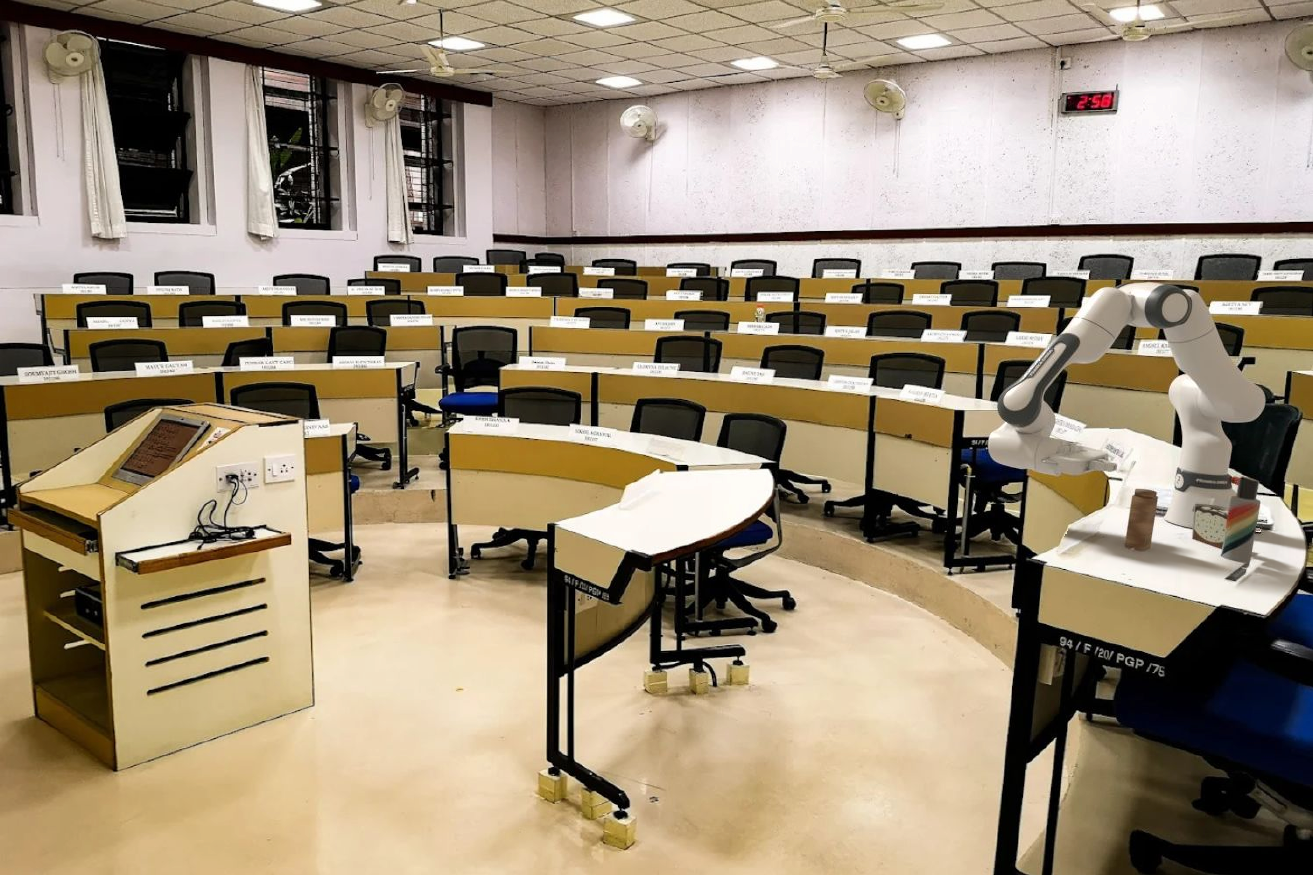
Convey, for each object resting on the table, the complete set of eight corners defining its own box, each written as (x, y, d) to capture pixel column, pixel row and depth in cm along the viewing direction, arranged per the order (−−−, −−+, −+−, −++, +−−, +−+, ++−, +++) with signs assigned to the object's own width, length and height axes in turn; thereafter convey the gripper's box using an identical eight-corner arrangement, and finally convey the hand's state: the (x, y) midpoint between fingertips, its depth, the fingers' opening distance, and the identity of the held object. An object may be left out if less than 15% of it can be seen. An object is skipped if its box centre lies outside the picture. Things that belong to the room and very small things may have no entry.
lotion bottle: (1216, 558, 215) (1231, 473, 212) (1244, 562, 214) (1260, 476, 210) (1223, 565, 210) (1238, 478, 206) (1252, 569, 208) (1268, 481, 205)
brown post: (1121, 547, 214) (1129, 491, 212) (1133, 541, 220) (1141, 486, 218) (1141, 552, 211) (1150, 495, 209) (1153, 546, 217) (1162, 490, 215)
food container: (1251, 557, 218) (1258, 516, 216) (1230, 558, 216) (1237, 516, 214) (1206, 542, 229) (1213, 502, 227) (1186, 543, 227) (1193, 502, 226)
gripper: (1039, 447, 219) (1100, 458, 209) (1072, 440, 233) (1131, 450, 224) (1035, 474, 220) (1096, 486, 211) (1068, 465, 235) (1127, 476, 225)
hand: (1114, 467), depth 217 cm, fingers closed
